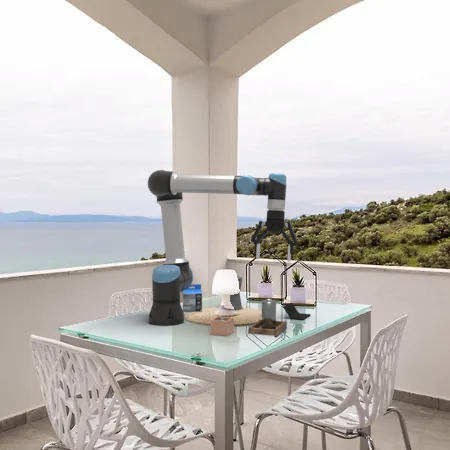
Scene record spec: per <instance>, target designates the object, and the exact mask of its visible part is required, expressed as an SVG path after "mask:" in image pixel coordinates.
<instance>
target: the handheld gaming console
mask: <svg viewBox="0 0 450 450" xmlns="http://www.w3.org/2000/svg"><path fill="white" fill-rule="evenodd" d="M283 309H284V311H285V313H286V314H287V315H288V317H289V319H290V320H295V321H304V320H306V319H308V318H309V317H311V314H310V313H304V312H303V313H301V312H299V311H298V310H297V308H296V306H295V304H294V303H293V302H290V303H288V304H286V305H284V306H283Z"/></svg>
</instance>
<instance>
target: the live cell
mask: <svg viewBox="0 0 450 450" xmlns="http://www.w3.org/2000/svg"><path fill="white" fill-rule="evenodd" d="M261 320H262V329H274V330H275V329H276V321H277V301H276V300H273V299H272V298H266V299H263V300H261Z"/></svg>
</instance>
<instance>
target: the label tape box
mask: <svg viewBox="0 0 450 450" xmlns="http://www.w3.org/2000/svg"><path fill="white" fill-rule="evenodd" d="M182 310H183V313H185V312H202V311H203V291H202V284H201V283H199V284H198V283H197V284H195V283H193V284H191V285H190V286H189V287H188V288H187V289H186V290H184V291H182Z"/></svg>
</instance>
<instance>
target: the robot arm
mask: <svg viewBox="0 0 450 450" xmlns="http://www.w3.org/2000/svg"><path fill="white" fill-rule="evenodd" d="M147 187H148V190H149V192H150V193H151V194H152V195H154V196H156V203H157V204H158V205H160V211H161V221H162V222H161V223H162V233H163V243H164V253H165V260H164V261H163V262H162V265H158V266H156V267H154V268H153V270H152V275H151V279H152V280H151V283H152V292H151V293H152V305H151V308H150V311H149V315H148V323H149V324H151V325H156V326H174V325H181V324H183V323H184V322H185V314H184V313H185V312H183V306H182V305H181V292H183V291H184V290H186V289H187V288H188V287H189V286H190V285H191V284H192V283H193V281H194V273H193V270H192V269H191V267H190V261H189V259H188V258H186V255H185V253H186V252H185V244H184V233H183V223H182V214H181V213H182V211H181V203H182V202H183V201H184V197H183V194H184V193H185V194H186V193H187V194H188V193H189V194H190V193H191V194H215V195H216V194H217V195H218V194H225V195H226V194H227V195H244V196H263V197H264V196H265V197H267V206H266V208H267V210H266V221H263V220H259V221H258V225H257V228H256V229H255V231H254V233H253V235H251V239H250V242H252V243H253V244H254V248H253V249H254V252H255V253H256V254H255V256H256V258H255V260H259V259H260V256H261V255H260V253H261V243H260V242H261V241H262V240H263V238H264V237H266V235H267V234H268V233H269V232H271V233H280V234H281V235H282V236H283V237H284V239H285V240H286V241H287V243H288V244H289V245H288V246H287V262H291V257H292V254H294V248H295V246H297V245H299V240H298V238H297V237H296V234H295V231H294V229H293V224H292V222H285V218H286V217H285V214H286V212H285V210H286V198H287V195H286V194H287V175H286V174H285V173H281V172H280V173H277V172H276V173H275V172H273V173H269V174H268V177H254V176H252V175H249V174H247V175H246V174H244V175H227V174H226V175H225V174H224V175H223V174H222V175H221V174H220V175H218V174H217V175H216V174H182V173H181V174H178V173H177V171H171V170H170V171H169V170H164V169H159V170H155V171H153V172H152V173H151V174H150V175H149V176H148V179H147ZM264 226H266V228H264V231H263V232H261V230H262V228H263V227H264ZM285 226H286V228H287V230H288V232H289V233H290V236H291V238H290V236H289V235H288V233H287V232H286V231H285V230H284V227H285ZM260 232H261V234H260ZM259 234H260V235H259ZM189 288H190V287H189Z"/></svg>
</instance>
